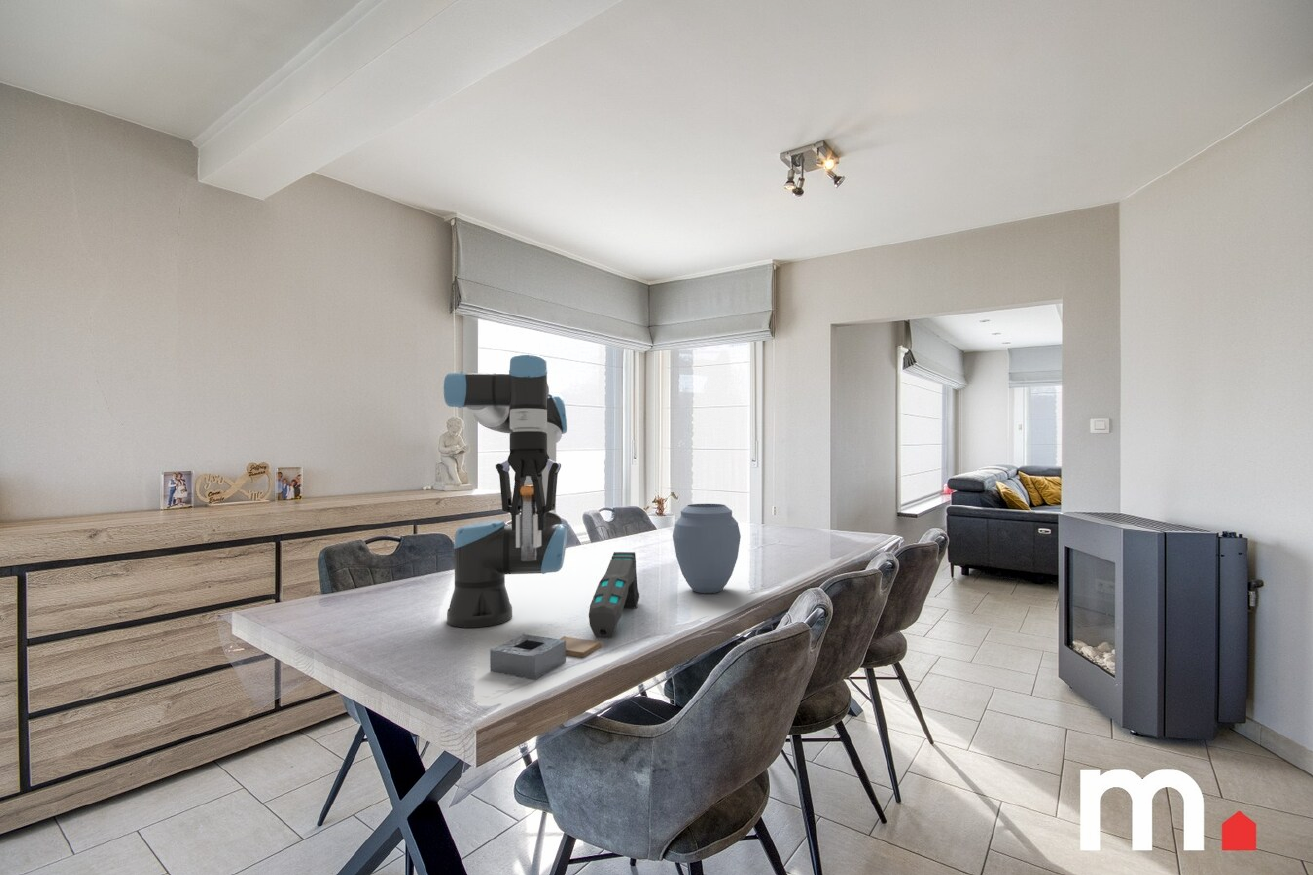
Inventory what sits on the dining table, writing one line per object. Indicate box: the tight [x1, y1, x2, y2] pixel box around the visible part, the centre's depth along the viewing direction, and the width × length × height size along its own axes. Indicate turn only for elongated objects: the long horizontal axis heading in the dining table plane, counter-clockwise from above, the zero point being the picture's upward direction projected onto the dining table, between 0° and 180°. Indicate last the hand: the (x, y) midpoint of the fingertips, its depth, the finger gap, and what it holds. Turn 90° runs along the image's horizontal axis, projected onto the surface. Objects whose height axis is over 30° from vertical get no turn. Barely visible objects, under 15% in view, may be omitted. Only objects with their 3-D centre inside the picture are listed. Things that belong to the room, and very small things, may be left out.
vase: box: [672, 503, 742, 594], centre depth 171 cm, size 20×20×24 cm
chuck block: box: [489, 633, 567, 681], centre depth 112 cm, size 10×10×4 cm
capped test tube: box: [519, 485, 536, 561], centre depth 121 cm, size 4×4×15 cm
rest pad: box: [559, 635, 602, 658], centre depth 122 cm, size 9×7×1 cm
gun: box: [588, 551, 640, 639], centre depth 143 cm, size 7×29×15 cm, turn 172°
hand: (528, 546), depth 121 cm, fingers closed on capped test tube, 3 cm apart
